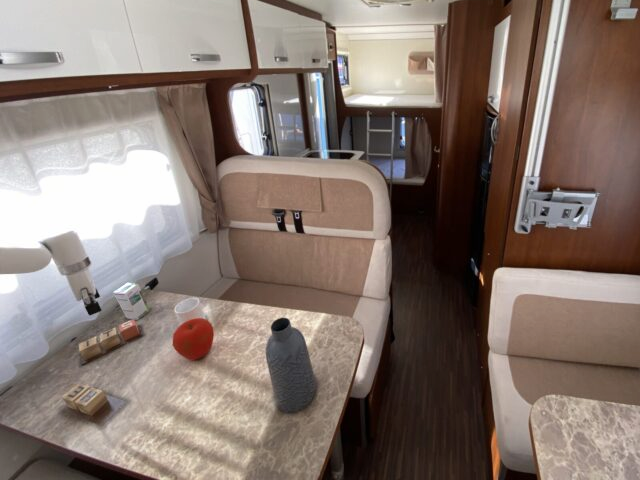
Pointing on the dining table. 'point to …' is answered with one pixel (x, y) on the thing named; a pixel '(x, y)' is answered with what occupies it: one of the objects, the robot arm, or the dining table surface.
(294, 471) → the dining table surface
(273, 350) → the vase
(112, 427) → the dining table surface
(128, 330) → the block
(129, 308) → the syrup box
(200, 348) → the apple
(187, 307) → the mug
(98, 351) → the board
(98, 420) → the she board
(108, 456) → the dining table surface
